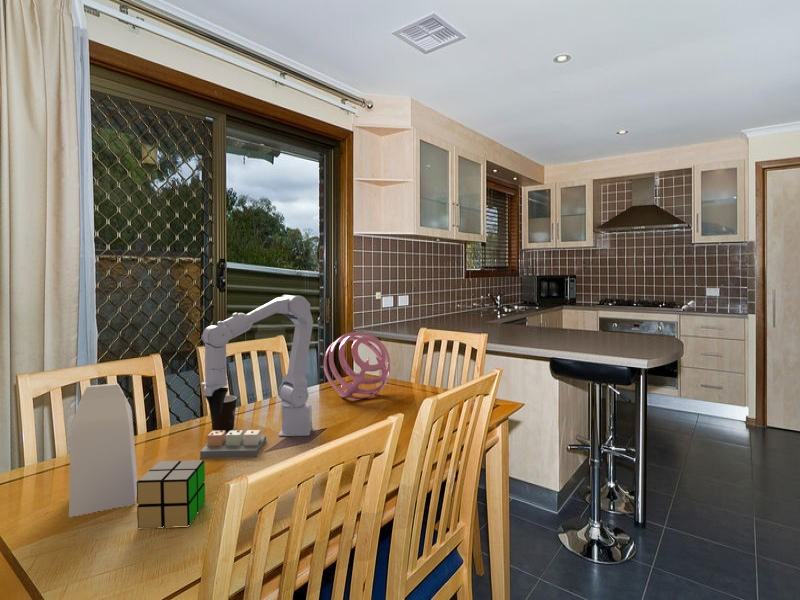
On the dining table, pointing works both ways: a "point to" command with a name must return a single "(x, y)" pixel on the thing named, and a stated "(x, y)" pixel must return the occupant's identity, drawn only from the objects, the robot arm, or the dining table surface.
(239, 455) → the button board
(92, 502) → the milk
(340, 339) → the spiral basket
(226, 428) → the coffee mug
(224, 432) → the orange dice cube
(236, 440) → the pale green cube
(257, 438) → the cream single-knob block
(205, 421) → the dining table surface
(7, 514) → the dining table surface
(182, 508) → the puzzle cube
